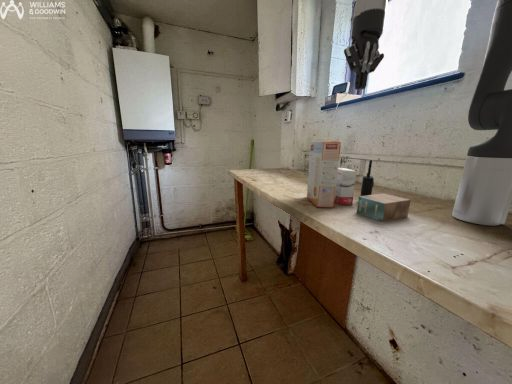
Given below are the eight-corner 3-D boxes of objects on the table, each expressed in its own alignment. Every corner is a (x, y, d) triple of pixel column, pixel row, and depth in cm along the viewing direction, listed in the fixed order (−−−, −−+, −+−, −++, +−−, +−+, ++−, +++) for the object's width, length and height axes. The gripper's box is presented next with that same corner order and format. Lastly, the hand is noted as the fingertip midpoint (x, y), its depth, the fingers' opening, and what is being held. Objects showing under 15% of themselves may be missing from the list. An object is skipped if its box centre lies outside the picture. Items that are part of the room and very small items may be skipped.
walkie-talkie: (359, 200, 75) (365, 159, 71) (369, 201, 73) (376, 159, 70) (359, 203, 70) (365, 160, 67) (370, 205, 69) (377, 160, 65)
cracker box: (335, 208, 65) (342, 141, 60) (316, 208, 65) (321, 141, 60) (321, 197, 79) (326, 141, 74) (306, 196, 79) (310, 141, 74)
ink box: (353, 205, 69) (357, 170, 66) (338, 204, 69) (342, 170, 66) (343, 198, 77) (346, 167, 74) (330, 198, 77) (333, 167, 75)
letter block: (356, 212, 62) (381, 208, 66) (381, 221, 54) (407, 216, 59) (358, 196, 60) (383, 193, 65) (384, 203, 53) (410, 199, 57)
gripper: (373, 29, 58) (364, 94, 62) (338, 17, 53) (331, 89, 57) (400, 15, 52) (388, 89, 56) (363, -1, 47) (354, 82, 51)
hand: (360, 89), depth 57 cm, fingers closed
